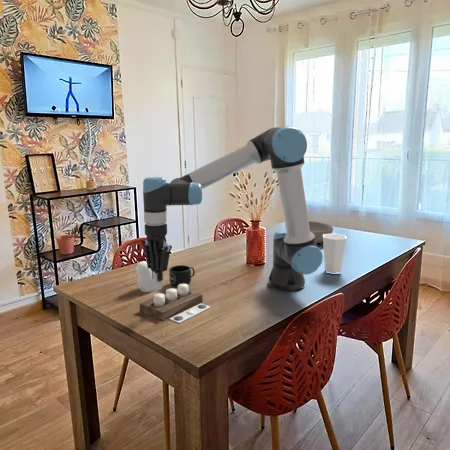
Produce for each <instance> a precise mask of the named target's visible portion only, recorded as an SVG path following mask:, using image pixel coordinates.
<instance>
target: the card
mask: <svg viewBox="0 0 450 450" xmlns="http://www.w3.org/2000/svg"><path fill="white" fill-rule="evenodd" d="M211 308H212V307H211V306H209V305H206V304H204V303H202V302H201V303H199V304H196V305H194V306H192V307H190V308H188V309H186V310H184V311H182V312H180V313H178V314H176V315H174V316H172V317H169V318H168V319H169V320H170V321H172V322H175V323H178V324H181V323H184V322H186V321H188V320H189V319H191V318H193V317H195V316H197V315H199V314H202V313H203V312H205V311H207V310H209V309H211Z"/></svg>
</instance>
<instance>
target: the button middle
mask: <svg viewBox="0 0 450 450" xmlns="http://www.w3.org/2000/svg"><path fill="white" fill-rule="evenodd" d="M165 293H166V301H169V302H174V301H176V300H177V289H176V288H173V287H172V288H166V290H165Z"/></svg>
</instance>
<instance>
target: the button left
mask: <svg viewBox="0 0 450 450" xmlns="http://www.w3.org/2000/svg"><path fill="white" fill-rule="evenodd" d="M152 298H153V301H154V306H155V307H157V308H160V307H162V306H165V295H164V293H160V292H159V293H155V294H153V295H152Z"/></svg>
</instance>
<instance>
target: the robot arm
mask: <svg viewBox="0 0 450 450" xmlns="http://www.w3.org/2000/svg"><path fill="white" fill-rule="evenodd" d="M307 149H308V140H307V138H306V135H305V133H304V132H303V131H301V129H298V128H297V127H293V126H289V125H288V126H280V127H279V126H278V127H272V128H269V129H267V130H265V131H262V133H259V134H258V135H256V136H254V137H253V138H251V139H249V140H247V142H246V144H245V145H243V146H241V147H239V148H237V149H235V150H233V151H231V152H229V153H227V154H225V155H224V156H221V157H219V158H217V159H215V160H213V161H211V162H209V163H207V164H205V165H203V166H200V167H199V168H196V169H195V170H193V171H190V172H189V173H187V174H185V175H183V176H181V177H176V178H174V179H172V180H171V181H170V182H167V179H166V178H165V177H163V176H162V177H161V176H152V177H145V178H144V180H143V182H142V184H143V185H142V196H143V197H142V199H143V200H142V201H143V223H145V224H144V234H145V236H146V239H145V240H142V241H141V244H142V247H143V250H144V255H145V260H146V262H147V267H148V268H150V269H151V271H152V278H153V287H154V291H156V292H157V291H159V290H161V289H163V280H164V278H163V277H164V275H163V274H164V273H163V272H166V271H168V266H169V260H170V254H171V250H172V248H173V246H172V245H170V244H168V243H167V239H166V236H167V234H168V224H167V221H168V220H167V213H168V212H167V207H168V206H169V207H170V206H171V207H172V206H195V205H200V204H201V203H202V200H203V189H206V188H208V187H209V186H211V185H214V184H216V183H217V182H218V183H219V182H220V181H222V180H224V179H226V178H227V177H229V176H231V175H234V174H236V173H238V172H240V171H242V170H244V169H245V168H248V167H249V166H251V165H253V164H256V165H259V164H261V163H264V162H266V161H270V165H271V169H272V170H273V171H274V172H276V176H277V181H278V187H279V193H280V199H281V206H282V211H283V219H284V224H285V225H284V226H286V227H285V230H277V231H275V232H274V234H273V239H272V242H273V244H272V247H273V251H272V268H271V270H270V273H269V277H268V282H267V283H268V285H269V286H270V287H271V288H273V289H275V290H278V291H285V292H286V291H288V292H293V291H292V290H295V291H298V290H297V289H300V288H302V287H304V288H305V286H306V280H305V276H306V275H311V274H313V273H315V272H316V271H317V270H318V269H319V268H320V267H321V265H322V263H323V260H324V254H323V253H322V250H321V249H320V248H319V247H318V246H317V244H316V240H315V235H314V234H313V233H312V232H310V228H309V221H310V220H309V213H308V210H307V202H306V194H305V188H304V181H303V172H302V168H303V166H304V165H305V154H306V153H307V151H308V150H307ZM304 275H305V276H304ZM304 285H305V286H304ZM302 289H303V288H302ZM300 290H301V289H300Z"/></svg>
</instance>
